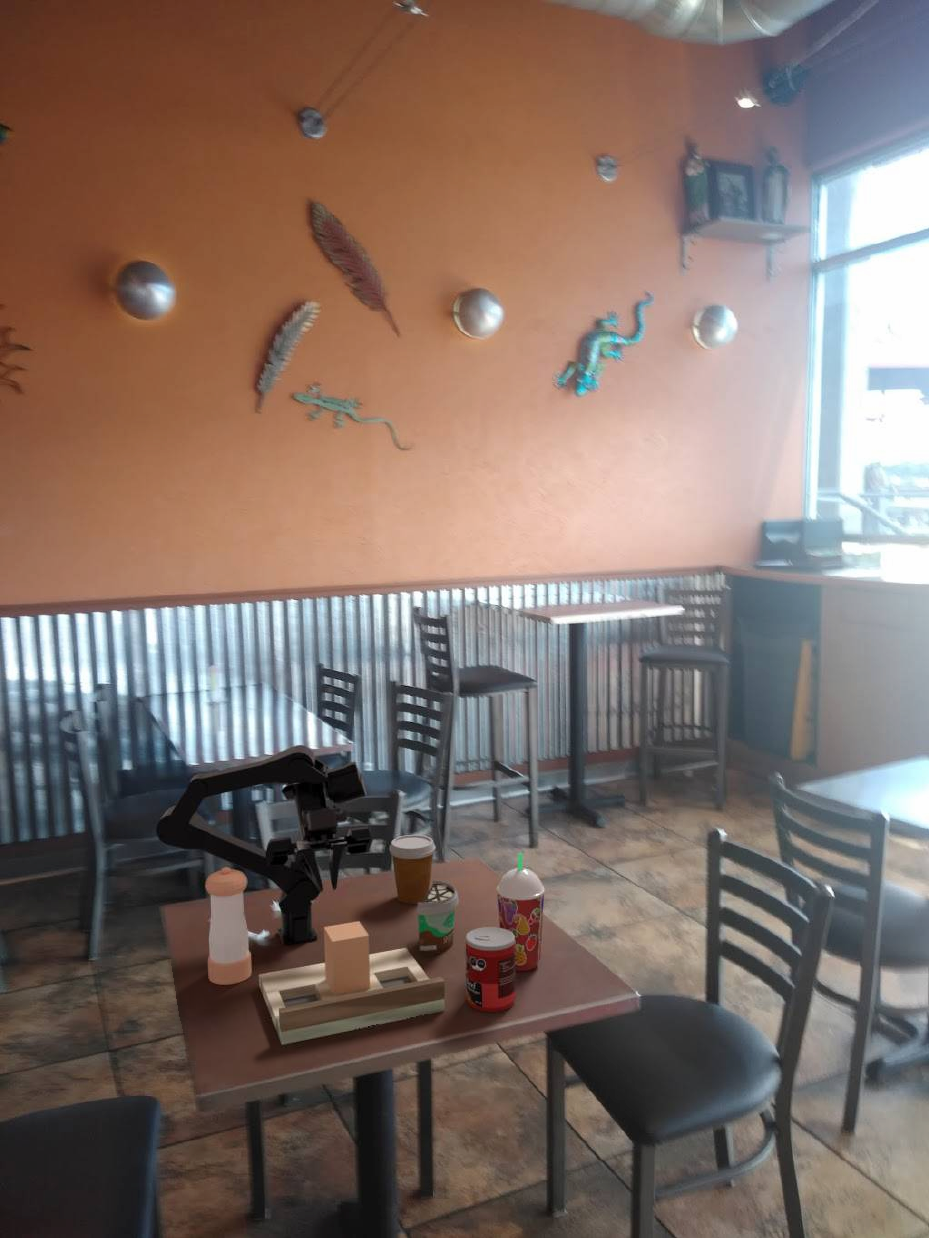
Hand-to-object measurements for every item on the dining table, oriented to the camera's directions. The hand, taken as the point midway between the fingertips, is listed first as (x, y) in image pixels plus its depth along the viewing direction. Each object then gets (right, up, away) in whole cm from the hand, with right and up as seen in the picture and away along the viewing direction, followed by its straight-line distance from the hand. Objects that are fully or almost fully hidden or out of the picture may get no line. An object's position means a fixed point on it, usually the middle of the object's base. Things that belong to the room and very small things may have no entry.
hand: (328, 890), depth 170 cm
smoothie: (+34, -13, 0) cm, 36 cm away
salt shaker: (-17, -14, -2) cm, 22 cm away
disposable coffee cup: (+13, -10, +31) cm, 35 cm away
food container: (+20, -13, +9) cm, 25 cm away
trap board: (+5, -15, -11) cm, 19 cm away
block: (+5, -13, -10) cm, 17 cm away
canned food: (+28, -15, -12) cm, 34 cm away
